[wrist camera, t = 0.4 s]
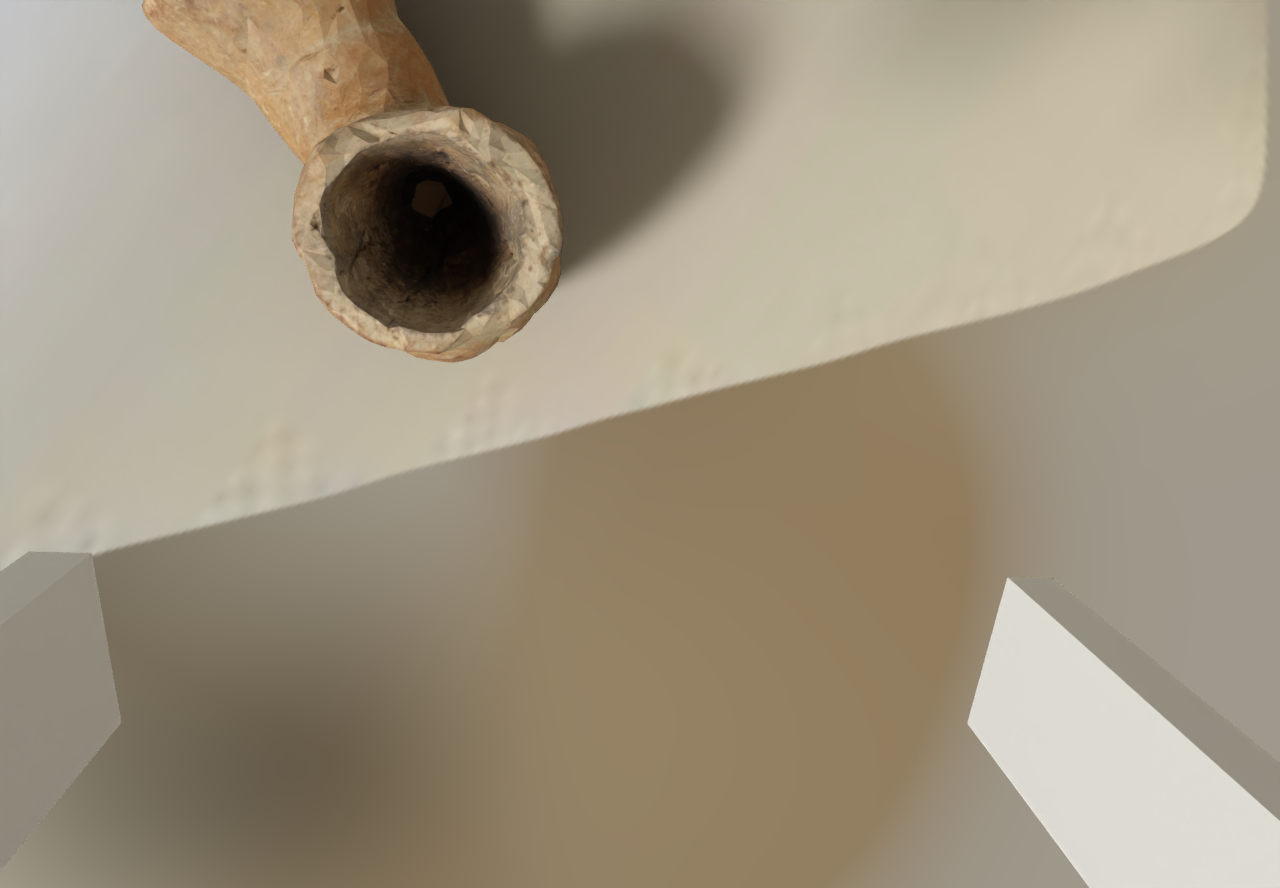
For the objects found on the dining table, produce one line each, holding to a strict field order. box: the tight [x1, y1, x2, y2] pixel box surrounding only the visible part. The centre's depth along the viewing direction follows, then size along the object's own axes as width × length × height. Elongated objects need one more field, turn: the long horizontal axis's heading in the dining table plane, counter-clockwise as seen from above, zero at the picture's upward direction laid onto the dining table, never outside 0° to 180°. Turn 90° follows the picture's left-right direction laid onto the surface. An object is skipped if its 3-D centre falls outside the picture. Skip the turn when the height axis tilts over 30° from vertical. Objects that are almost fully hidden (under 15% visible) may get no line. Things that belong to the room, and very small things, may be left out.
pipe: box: [142, 0, 563, 362], centre depth 27 cm, size 9×16×10 cm, turn 32°
